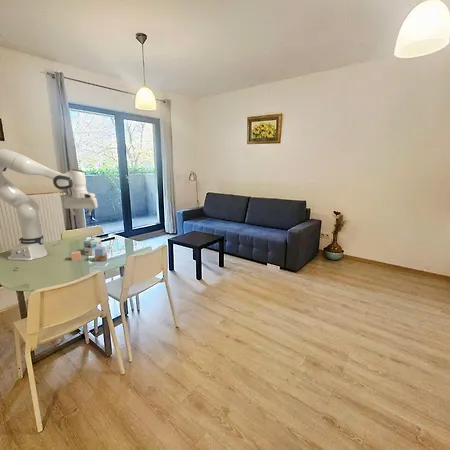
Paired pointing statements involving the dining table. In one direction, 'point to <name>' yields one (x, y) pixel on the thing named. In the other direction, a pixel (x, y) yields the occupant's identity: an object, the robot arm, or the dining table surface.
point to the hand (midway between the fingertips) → (81, 215)
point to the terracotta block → (76, 255)
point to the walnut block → (101, 258)
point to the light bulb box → (91, 245)
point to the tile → (101, 264)
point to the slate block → (100, 251)
